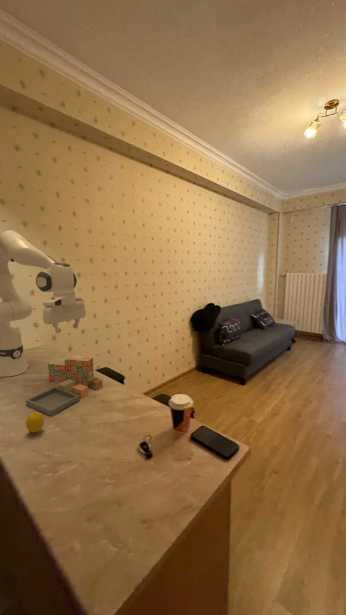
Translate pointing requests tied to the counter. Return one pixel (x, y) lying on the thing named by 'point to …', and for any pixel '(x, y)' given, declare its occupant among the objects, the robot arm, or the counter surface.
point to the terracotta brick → (80, 390)
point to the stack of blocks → (71, 369)
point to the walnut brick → (94, 383)
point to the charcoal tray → (52, 401)
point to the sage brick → (66, 385)
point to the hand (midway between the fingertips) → (67, 330)
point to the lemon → (35, 422)
